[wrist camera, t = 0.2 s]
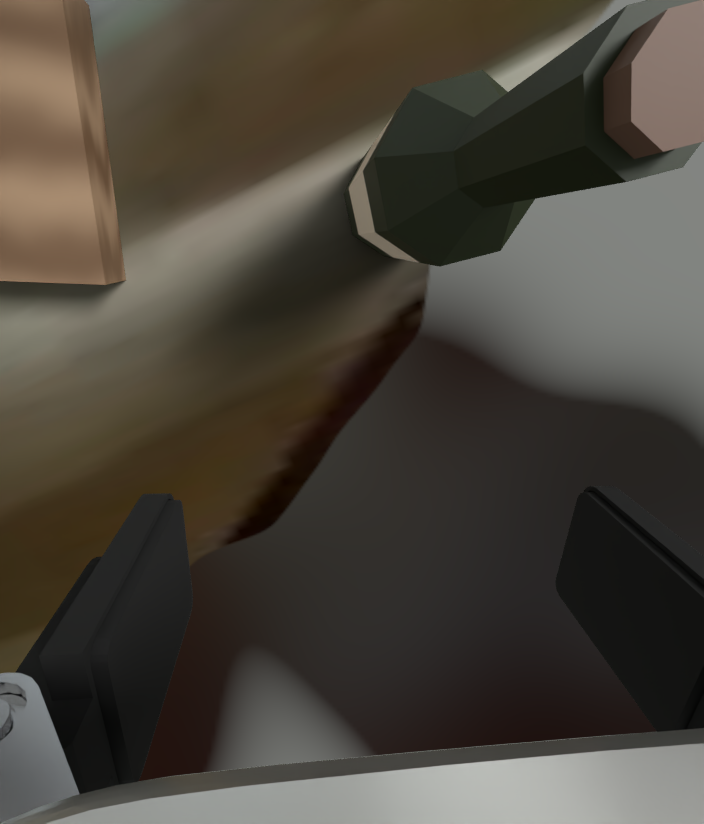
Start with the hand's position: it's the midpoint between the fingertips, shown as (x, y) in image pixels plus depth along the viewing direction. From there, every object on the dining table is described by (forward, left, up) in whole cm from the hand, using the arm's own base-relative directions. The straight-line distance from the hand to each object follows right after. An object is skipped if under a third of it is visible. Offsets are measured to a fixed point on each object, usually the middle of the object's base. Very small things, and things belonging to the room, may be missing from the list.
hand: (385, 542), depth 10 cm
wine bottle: (-10, +5, -31) cm, 33 cm away
